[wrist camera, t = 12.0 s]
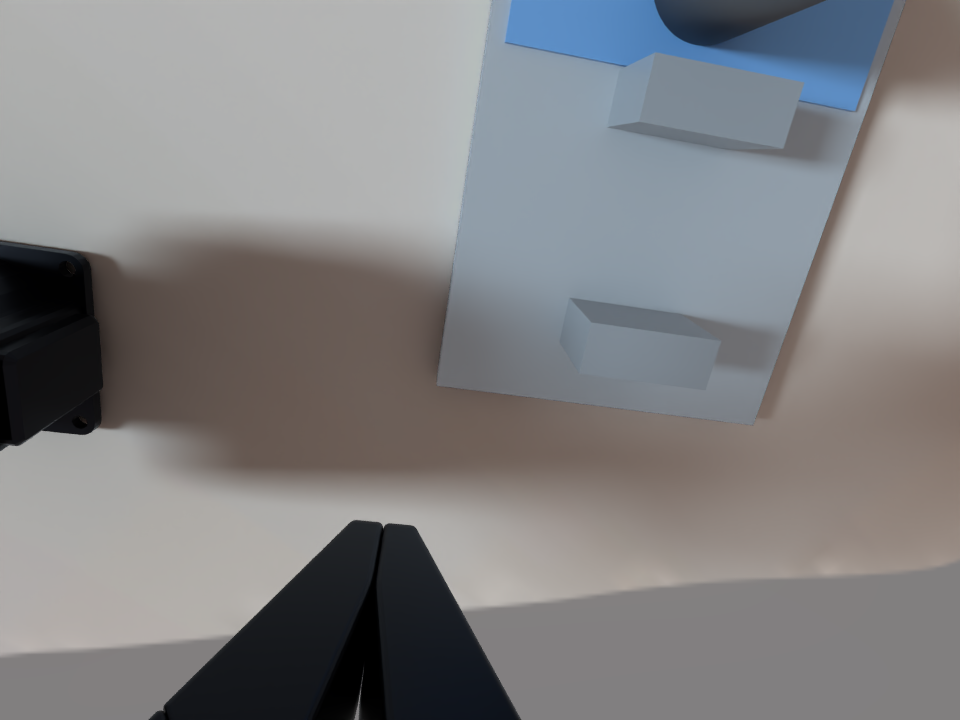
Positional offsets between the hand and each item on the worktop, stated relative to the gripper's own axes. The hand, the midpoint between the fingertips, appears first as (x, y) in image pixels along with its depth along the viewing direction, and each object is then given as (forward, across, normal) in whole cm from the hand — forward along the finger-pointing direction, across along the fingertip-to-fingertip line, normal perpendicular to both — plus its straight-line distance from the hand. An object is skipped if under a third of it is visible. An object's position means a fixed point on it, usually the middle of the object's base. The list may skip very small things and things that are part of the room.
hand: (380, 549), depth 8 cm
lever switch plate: (+13, -7, -8) cm, 17 cm away
